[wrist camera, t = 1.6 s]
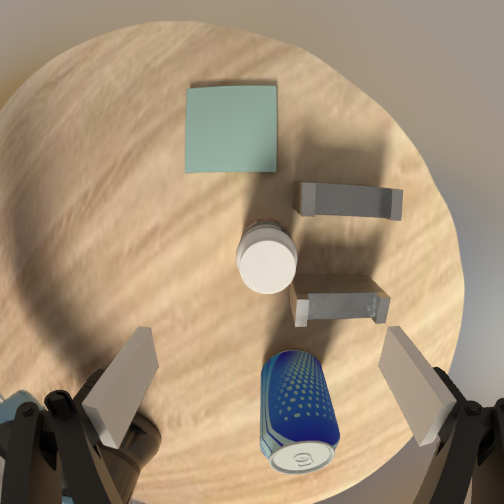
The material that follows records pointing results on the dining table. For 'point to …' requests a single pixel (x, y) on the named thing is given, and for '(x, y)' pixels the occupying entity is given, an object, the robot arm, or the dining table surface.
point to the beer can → (296, 414)
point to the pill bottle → (266, 256)
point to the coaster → (231, 129)
